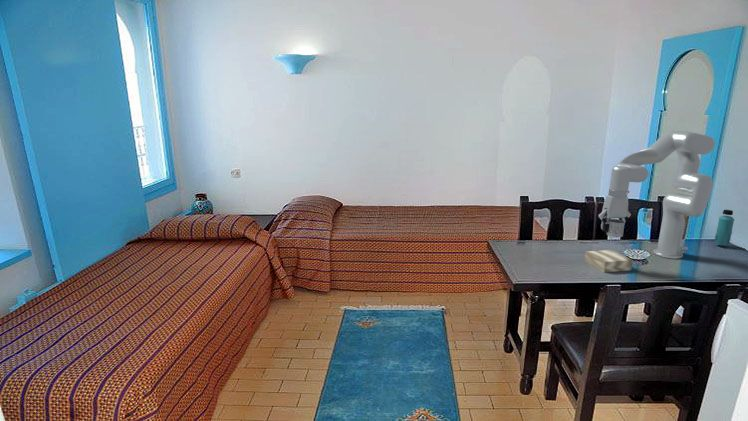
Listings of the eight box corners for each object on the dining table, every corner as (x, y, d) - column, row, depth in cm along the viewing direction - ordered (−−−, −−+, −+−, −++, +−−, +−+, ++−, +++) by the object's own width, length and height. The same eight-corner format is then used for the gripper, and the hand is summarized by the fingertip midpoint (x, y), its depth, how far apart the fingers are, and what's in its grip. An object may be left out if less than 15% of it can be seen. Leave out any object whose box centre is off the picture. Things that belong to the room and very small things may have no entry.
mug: (625, 235, 198) (627, 221, 196) (617, 238, 195) (619, 223, 193) (604, 230, 206) (606, 216, 205) (596, 232, 203) (598, 218, 201)
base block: (610, 259, 212) (611, 249, 211) (631, 270, 199) (632, 260, 198) (584, 261, 210) (585, 251, 209) (603, 272, 197) (605, 262, 196)
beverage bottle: (731, 248, 227) (740, 211, 222) (719, 248, 227) (727, 211, 222) (722, 244, 234) (730, 208, 228) (709, 244, 234) (717, 208, 229)
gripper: (629, 191, 201) (623, 227, 205) (595, 192, 198) (590, 229, 202) (641, 194, 194) (635, 232, 198) (606, 196, 191) (600, 234, 195)
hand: (612, 230), depth 200 cm, fingers closed on mug, 6 cm apart
